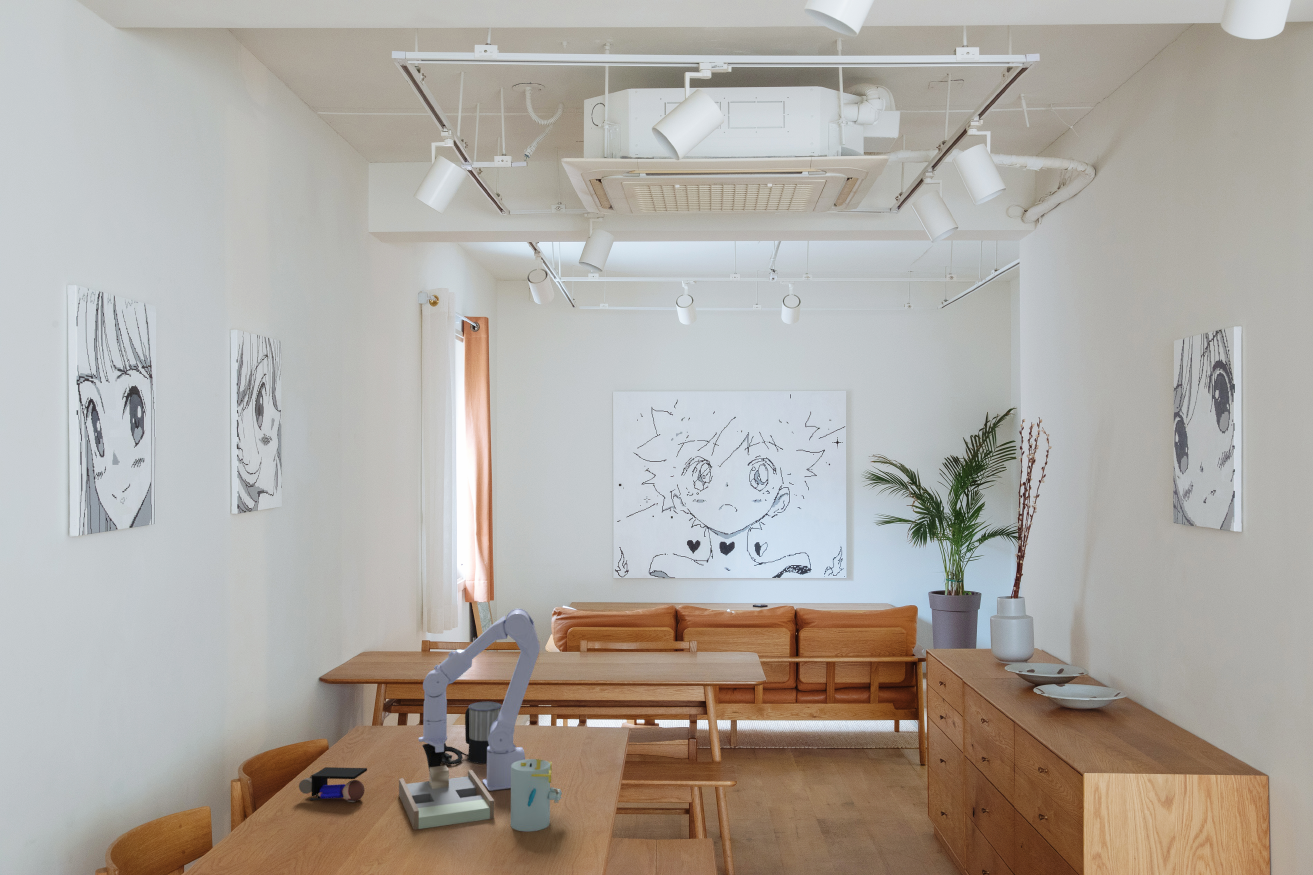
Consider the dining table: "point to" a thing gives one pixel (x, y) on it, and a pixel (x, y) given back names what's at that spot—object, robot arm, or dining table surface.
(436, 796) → the box
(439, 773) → the block
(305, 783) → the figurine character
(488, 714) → the milk frother
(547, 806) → the pale blue upright cylinder
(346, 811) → the dining table surface
